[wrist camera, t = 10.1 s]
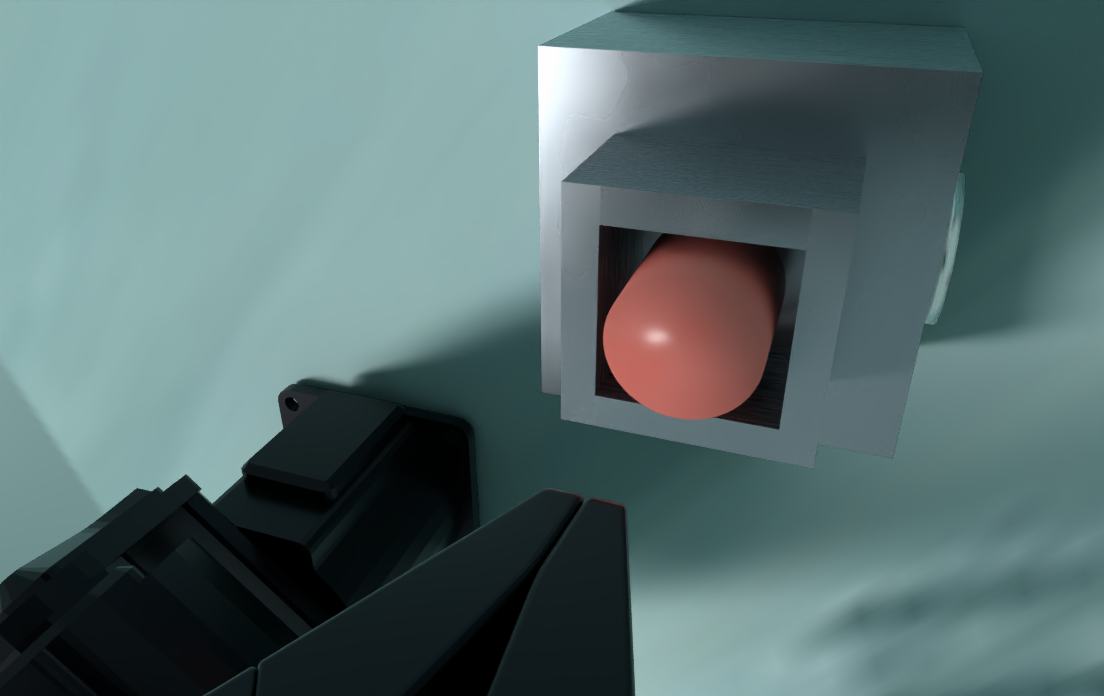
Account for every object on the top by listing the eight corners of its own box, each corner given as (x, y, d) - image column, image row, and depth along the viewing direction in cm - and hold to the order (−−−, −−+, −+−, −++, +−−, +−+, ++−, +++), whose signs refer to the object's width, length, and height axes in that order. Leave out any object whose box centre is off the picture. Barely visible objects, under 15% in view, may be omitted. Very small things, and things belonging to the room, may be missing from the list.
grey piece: (908, 350, 20) (911, 561, 14) (603, 304, 22) (488, 467, 16) (982, 28, 16) (1029, 119, 10) (611, 11, 18) (470, 77, 12)
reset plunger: (776, 354, 15) (755, 432, 13) (641, 333, 15) (601, 403, 13) (794, 223, 14) (775, 286, 12) (647, 207, 14) (605, 262, 12)
